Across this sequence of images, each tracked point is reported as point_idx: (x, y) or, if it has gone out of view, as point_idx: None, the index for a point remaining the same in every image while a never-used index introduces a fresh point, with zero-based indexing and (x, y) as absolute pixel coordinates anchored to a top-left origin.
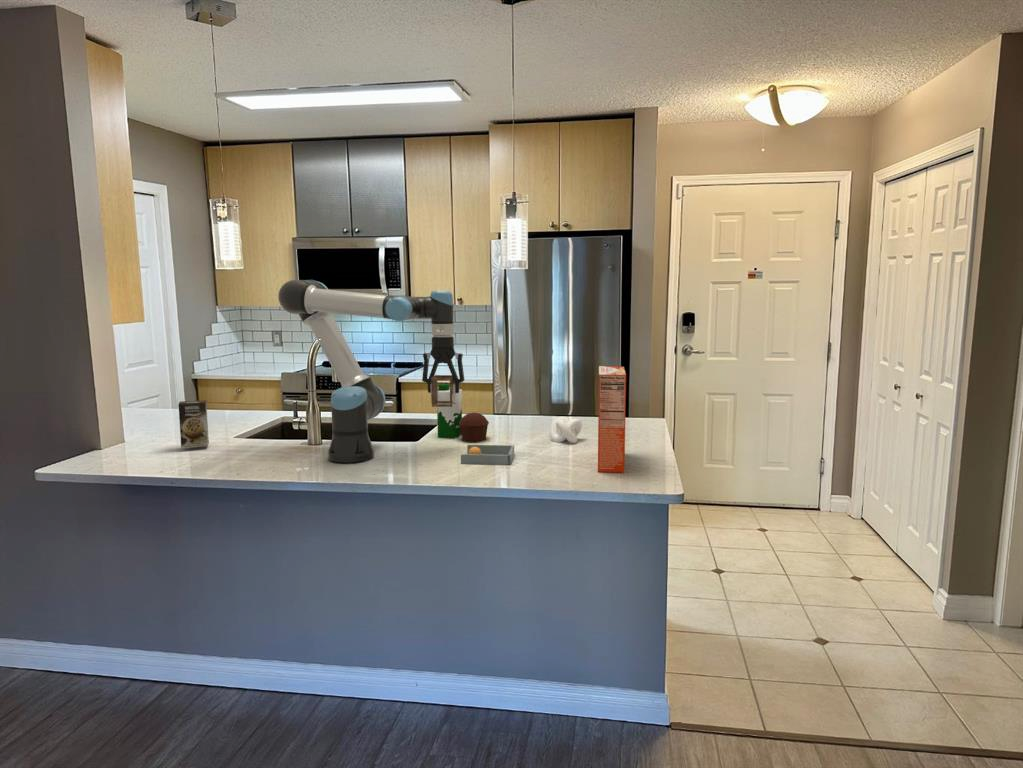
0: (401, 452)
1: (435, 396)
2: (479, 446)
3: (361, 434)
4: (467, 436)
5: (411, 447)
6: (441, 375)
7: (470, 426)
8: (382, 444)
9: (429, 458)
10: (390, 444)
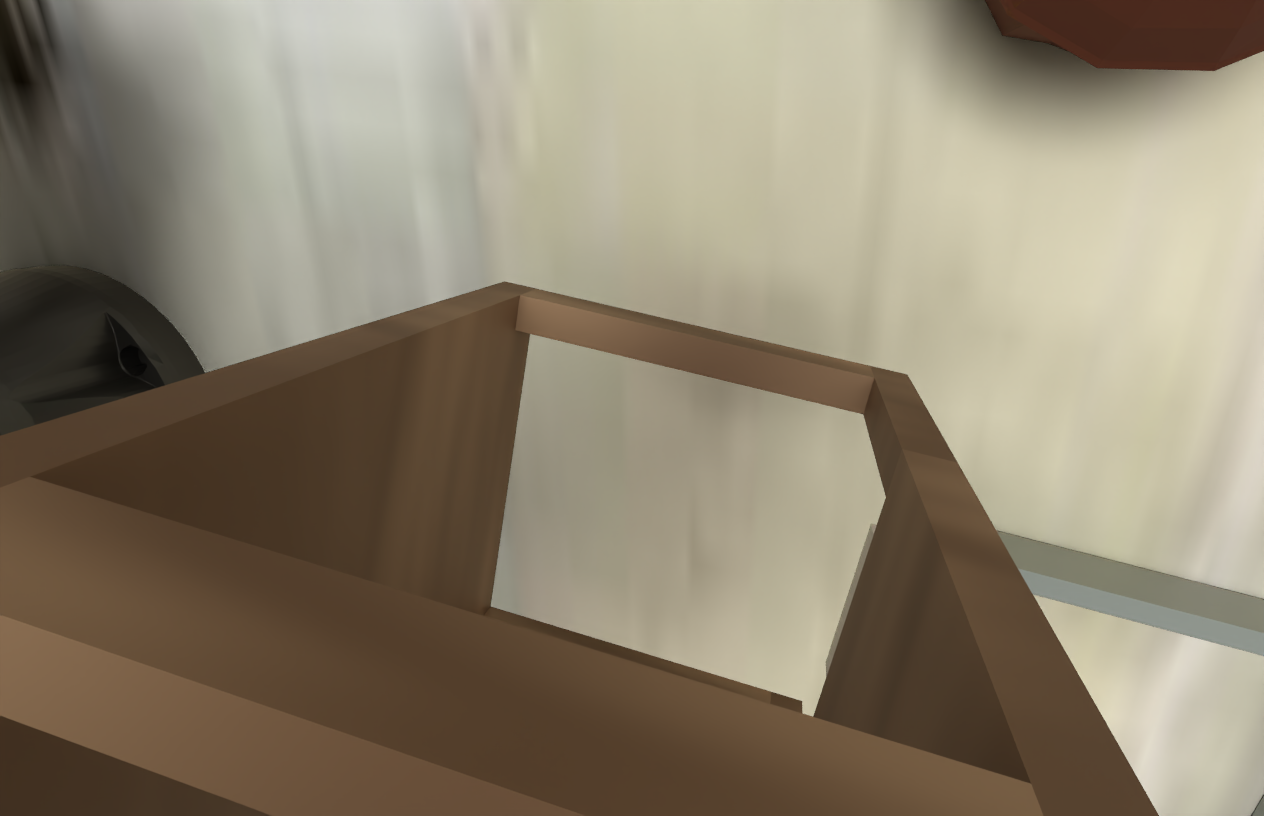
0: None
1: (437, 547)
2: (1057, 596)
3: None
4: (1022, 32)
5: (443, 217)
6: (129, 751)
7: (1107, 63)
8: (191, 63)
9: (610, 604)
10: (254, 70)
